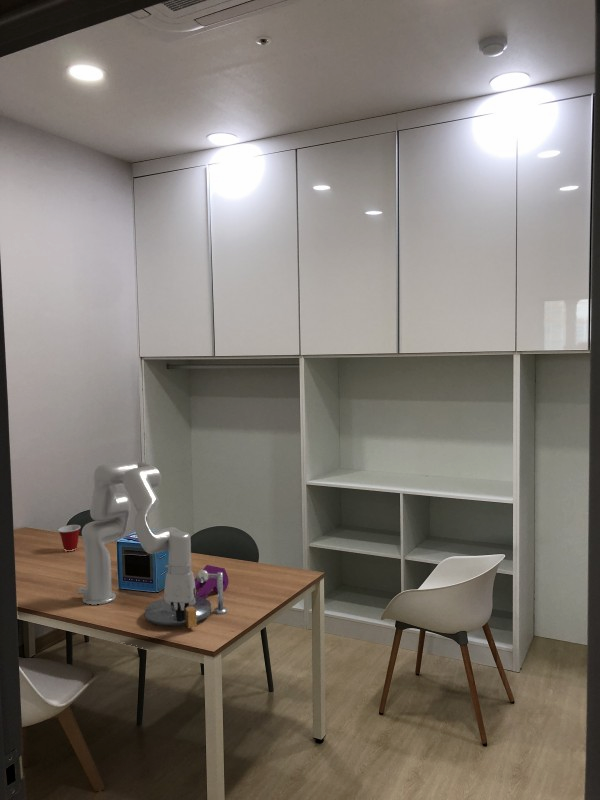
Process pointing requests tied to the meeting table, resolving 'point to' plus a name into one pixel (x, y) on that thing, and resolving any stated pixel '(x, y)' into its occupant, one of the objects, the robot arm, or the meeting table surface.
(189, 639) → the meeting table surface
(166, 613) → the turntable
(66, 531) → the plastic cup
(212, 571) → the mounting bracket
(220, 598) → the dial post
